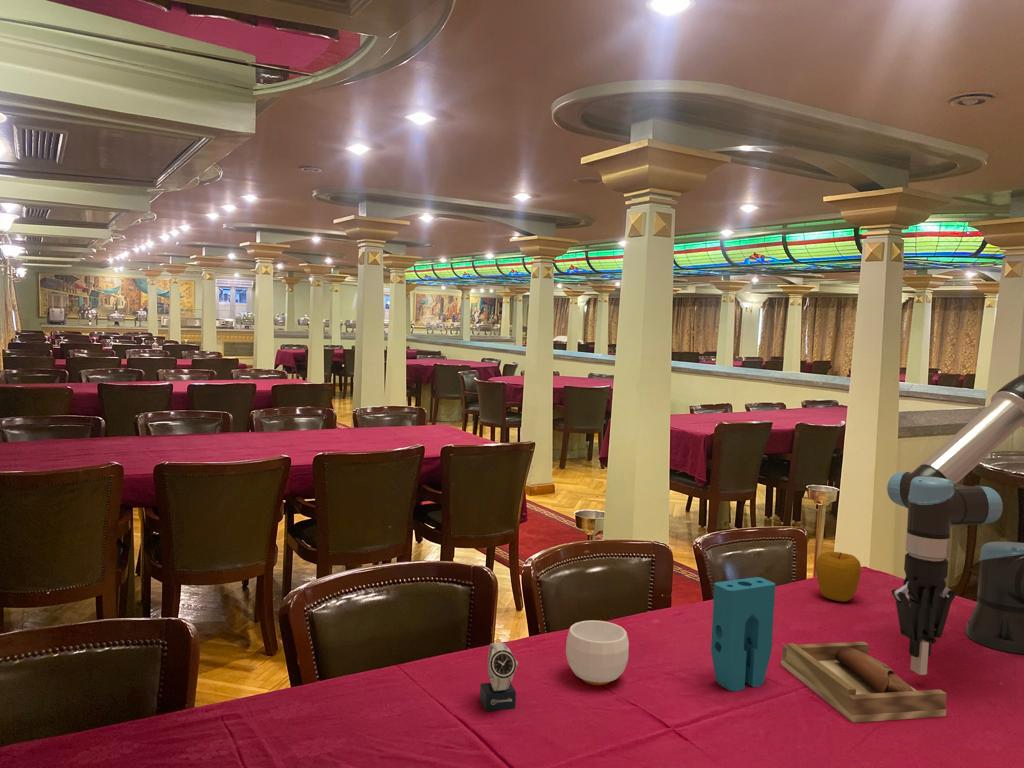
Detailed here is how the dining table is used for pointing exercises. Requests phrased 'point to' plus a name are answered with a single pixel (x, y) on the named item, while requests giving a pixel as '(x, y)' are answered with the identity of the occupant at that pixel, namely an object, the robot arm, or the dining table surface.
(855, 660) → the sunglasses case
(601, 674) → the cup
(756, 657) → the block
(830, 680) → the rail board
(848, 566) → the apple
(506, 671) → the watch
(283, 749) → the dining table surface
